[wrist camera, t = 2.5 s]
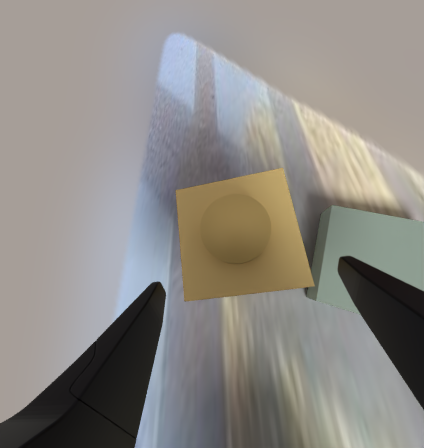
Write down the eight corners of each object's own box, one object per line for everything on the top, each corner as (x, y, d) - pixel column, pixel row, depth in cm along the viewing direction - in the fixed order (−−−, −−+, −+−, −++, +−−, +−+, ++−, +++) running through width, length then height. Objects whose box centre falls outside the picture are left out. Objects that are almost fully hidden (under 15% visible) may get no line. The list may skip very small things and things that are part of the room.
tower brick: (271, 277, 17) (324, 288, 5) (224, 283, 18) (176, 305, 6) (261, 231, 19) (286, 155, 7) (217, 239, 19) (167, 181, 7)
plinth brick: (414, 330, 15) (447, 341, 12) (306, 296, 16) (316, 300, 14) (420, 233, 16) (450, 226, 14) (320, 213, 18) (332, 204, 16)
